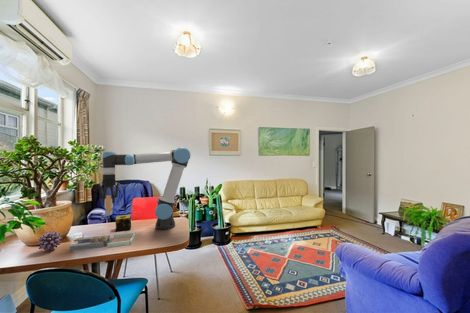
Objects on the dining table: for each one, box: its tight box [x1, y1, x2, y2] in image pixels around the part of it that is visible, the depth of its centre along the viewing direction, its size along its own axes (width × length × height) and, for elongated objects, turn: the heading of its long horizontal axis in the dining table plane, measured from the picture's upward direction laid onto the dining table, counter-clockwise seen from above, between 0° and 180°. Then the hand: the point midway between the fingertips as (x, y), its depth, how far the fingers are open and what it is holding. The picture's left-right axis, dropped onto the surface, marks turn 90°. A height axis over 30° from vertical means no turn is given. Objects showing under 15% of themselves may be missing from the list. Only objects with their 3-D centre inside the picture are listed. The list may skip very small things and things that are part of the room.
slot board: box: [69, 234, 115, 252], centre depth 132 cm, size 20×14×4 cm
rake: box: [104, 194, 114, 217], centre depth 144 cm, size 3×6×13 cm, turn 14°
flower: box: [36, 230, 64, 253], centre depth 126 cm, size 12×12×12 cm
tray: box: [107, 232, 137, 248], centre depth 137 cm, size 13×16×3 cm
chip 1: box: [91, 235, 101, 242], centre depth 133 cm, size 4×4×4 cm
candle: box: [115, 214, 132, 233], centre depth 162 cm, size 10×10×10 cm
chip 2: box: [99, 234, 108, 244], centre depth 134 cm, size 4×4×4 cm
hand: (108, 207), depth 144 cm, fingers closed on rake, 3 cm apart
